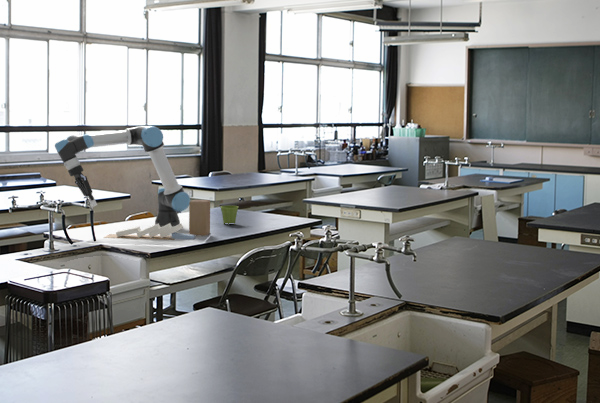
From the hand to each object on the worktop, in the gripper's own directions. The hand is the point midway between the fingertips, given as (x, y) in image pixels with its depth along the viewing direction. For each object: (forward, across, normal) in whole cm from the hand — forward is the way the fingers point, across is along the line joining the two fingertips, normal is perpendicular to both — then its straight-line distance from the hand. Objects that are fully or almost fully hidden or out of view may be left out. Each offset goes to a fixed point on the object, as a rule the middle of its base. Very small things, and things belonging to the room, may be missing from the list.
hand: (94, 205), depth 369 cm
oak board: (+27, +14, +9) cm, 31 cm away
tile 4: (+30, +21, +17) cm, 40 cm away
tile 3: (+27, +18, +13) cm, 35 cm away
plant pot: (+49, -9, +75) cm, 90 cm away
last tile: (+32, +25, +21) cm, 46 cm away
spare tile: (+19, +7, +1) cm, 20 cm away
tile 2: (+24, +14, +9) cm, 29 cm away
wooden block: (+41, +19, +38) cm, 59 cm away
